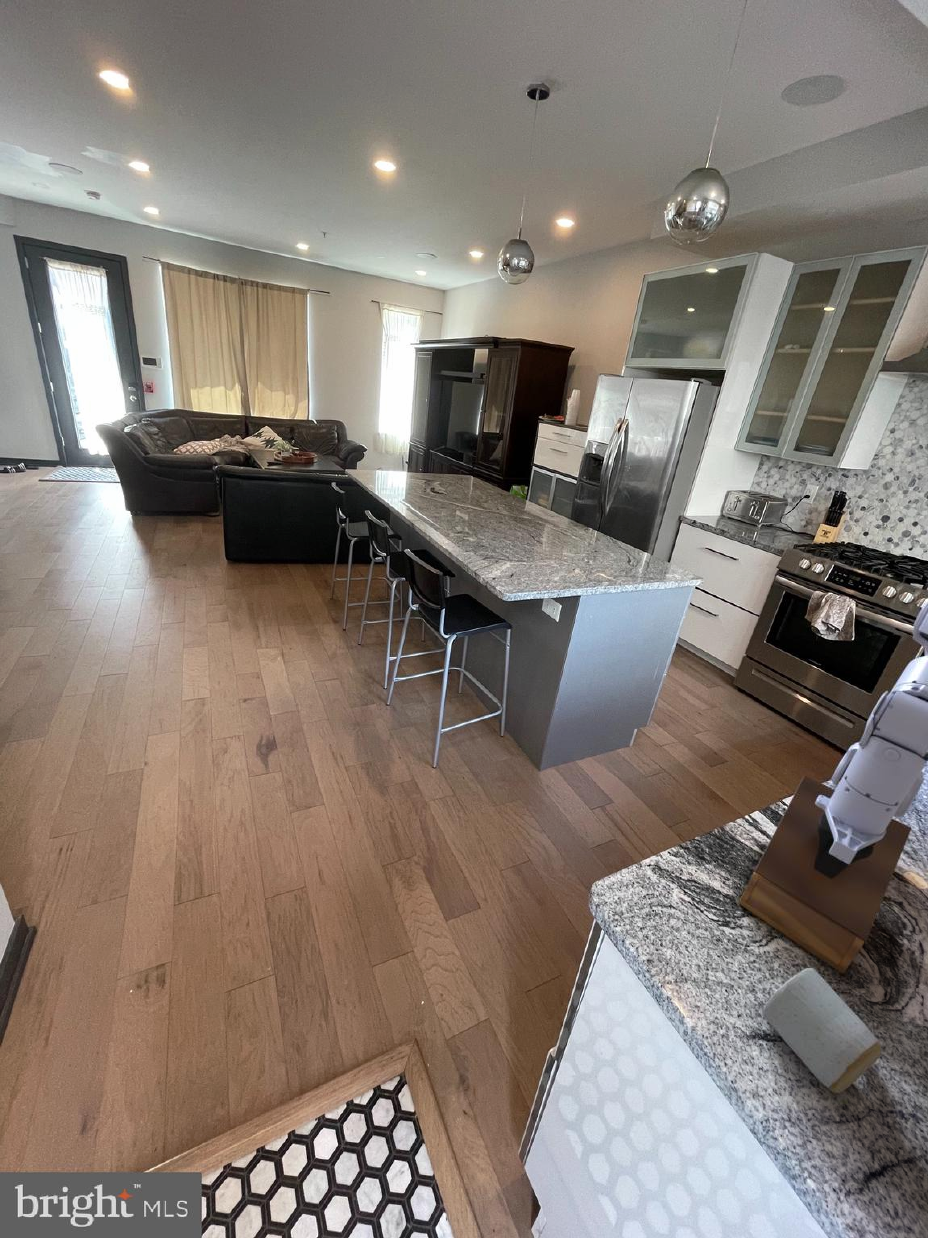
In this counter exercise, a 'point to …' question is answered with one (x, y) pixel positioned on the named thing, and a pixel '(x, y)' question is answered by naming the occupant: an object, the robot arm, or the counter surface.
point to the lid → (838, 898)
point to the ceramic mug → (822, 1030)
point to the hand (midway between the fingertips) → (823, 871)
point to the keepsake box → (801, 923)
